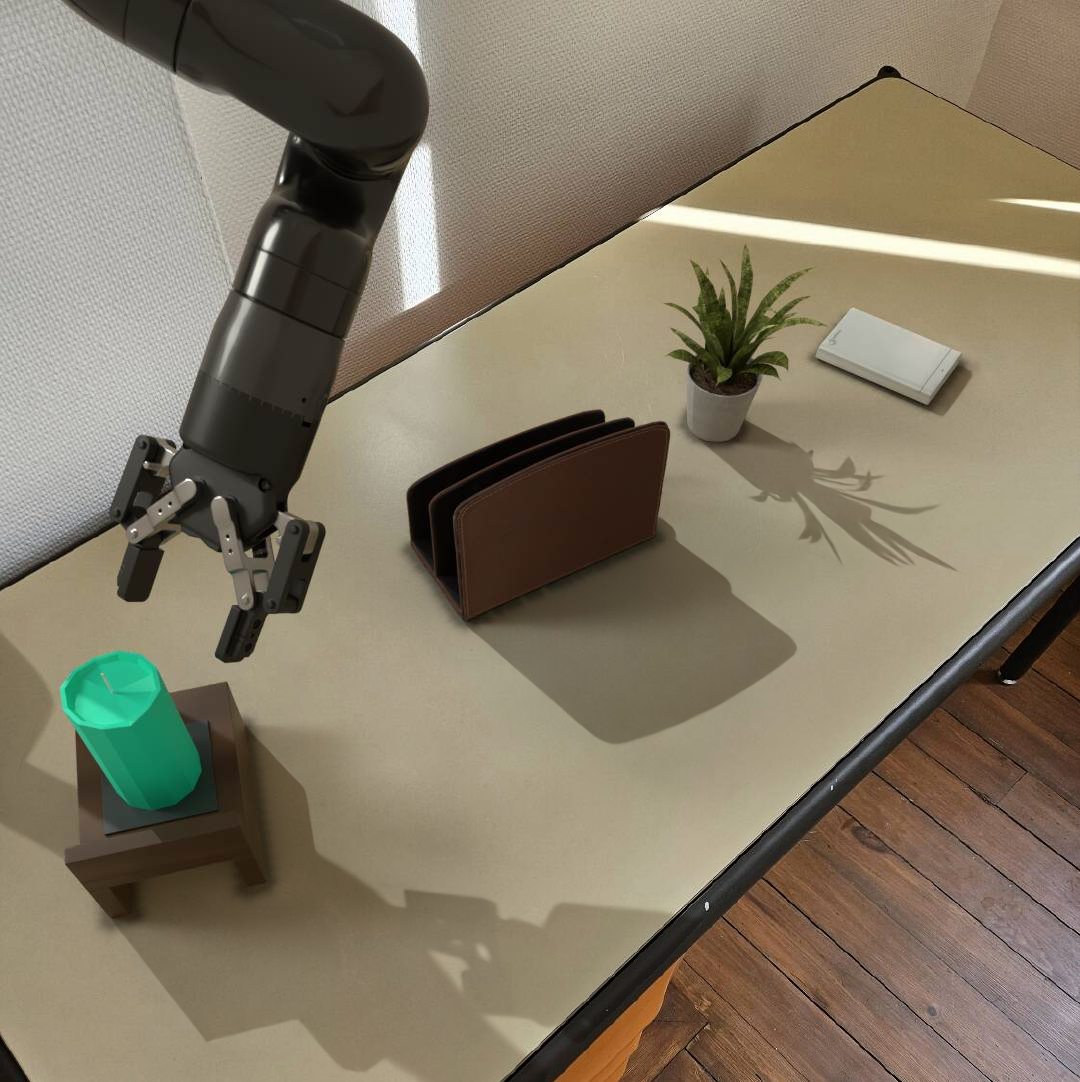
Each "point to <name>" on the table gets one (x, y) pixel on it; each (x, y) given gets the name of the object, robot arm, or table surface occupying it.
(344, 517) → the table surface
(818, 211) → the table surface
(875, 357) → the hard drive
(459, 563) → the letter holder
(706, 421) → the house plant
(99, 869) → the wooden side table
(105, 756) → the candle
